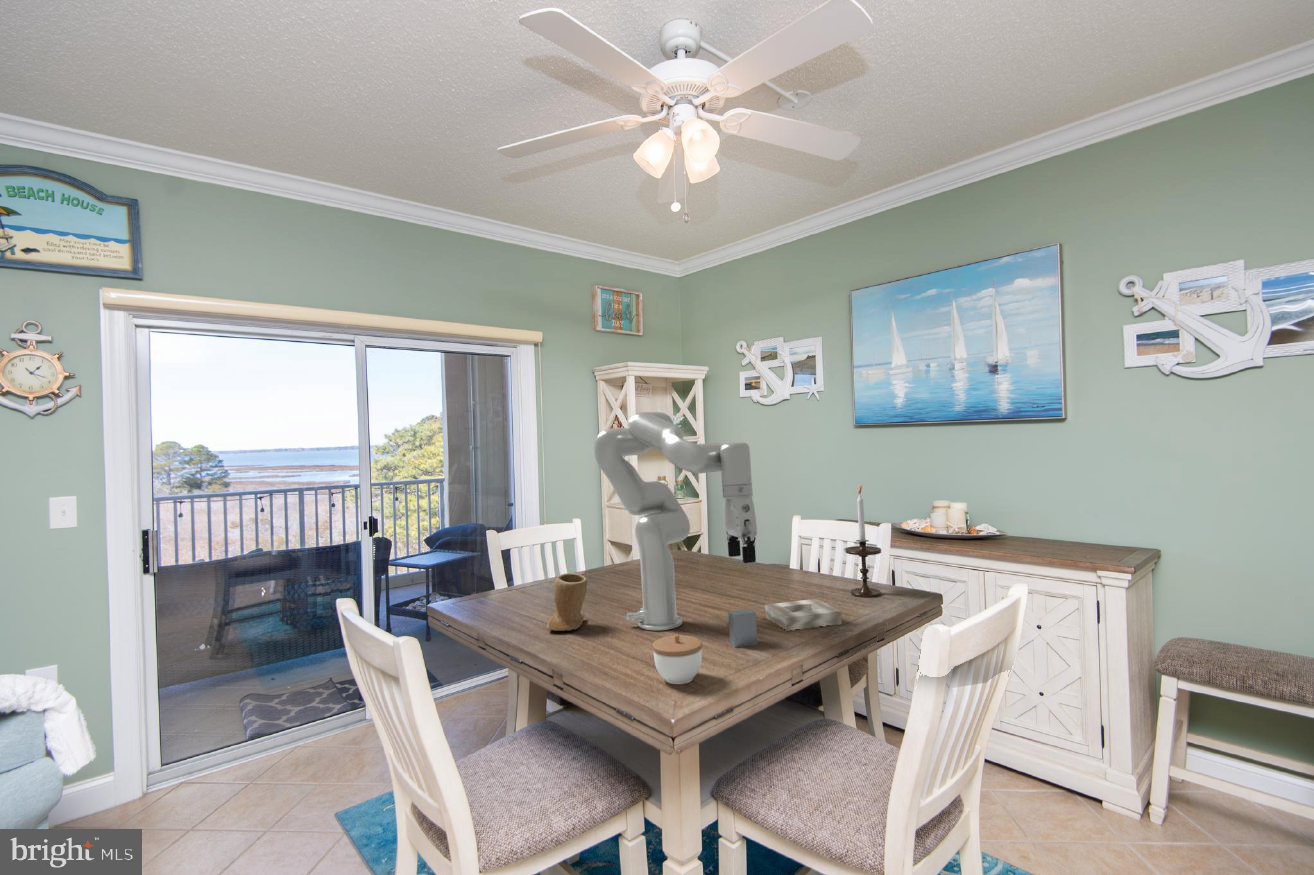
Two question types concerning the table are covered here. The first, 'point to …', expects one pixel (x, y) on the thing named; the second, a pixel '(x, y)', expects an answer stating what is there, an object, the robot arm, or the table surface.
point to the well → (802, 614)
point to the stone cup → (568, 602)
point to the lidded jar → (678, 658)
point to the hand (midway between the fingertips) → (741, 559)
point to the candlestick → (863, 554)
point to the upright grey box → (742, 627)
